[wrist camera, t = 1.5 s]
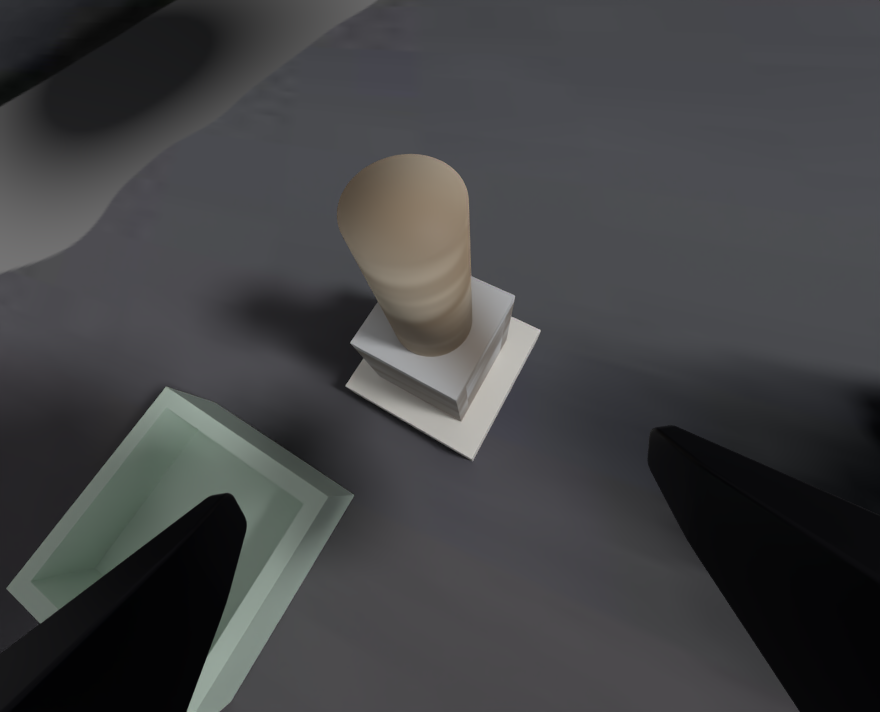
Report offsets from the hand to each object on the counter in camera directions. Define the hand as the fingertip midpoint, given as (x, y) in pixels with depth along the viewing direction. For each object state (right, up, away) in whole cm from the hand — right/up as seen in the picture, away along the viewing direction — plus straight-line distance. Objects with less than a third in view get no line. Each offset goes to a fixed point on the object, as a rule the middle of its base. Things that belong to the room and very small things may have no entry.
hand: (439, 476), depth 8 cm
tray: (-12, -7, +12) cm, 18 cm away
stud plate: (0, +2, +14) cm, 14 cm away
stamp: (0, +2, +13) cm, 13 cm away
